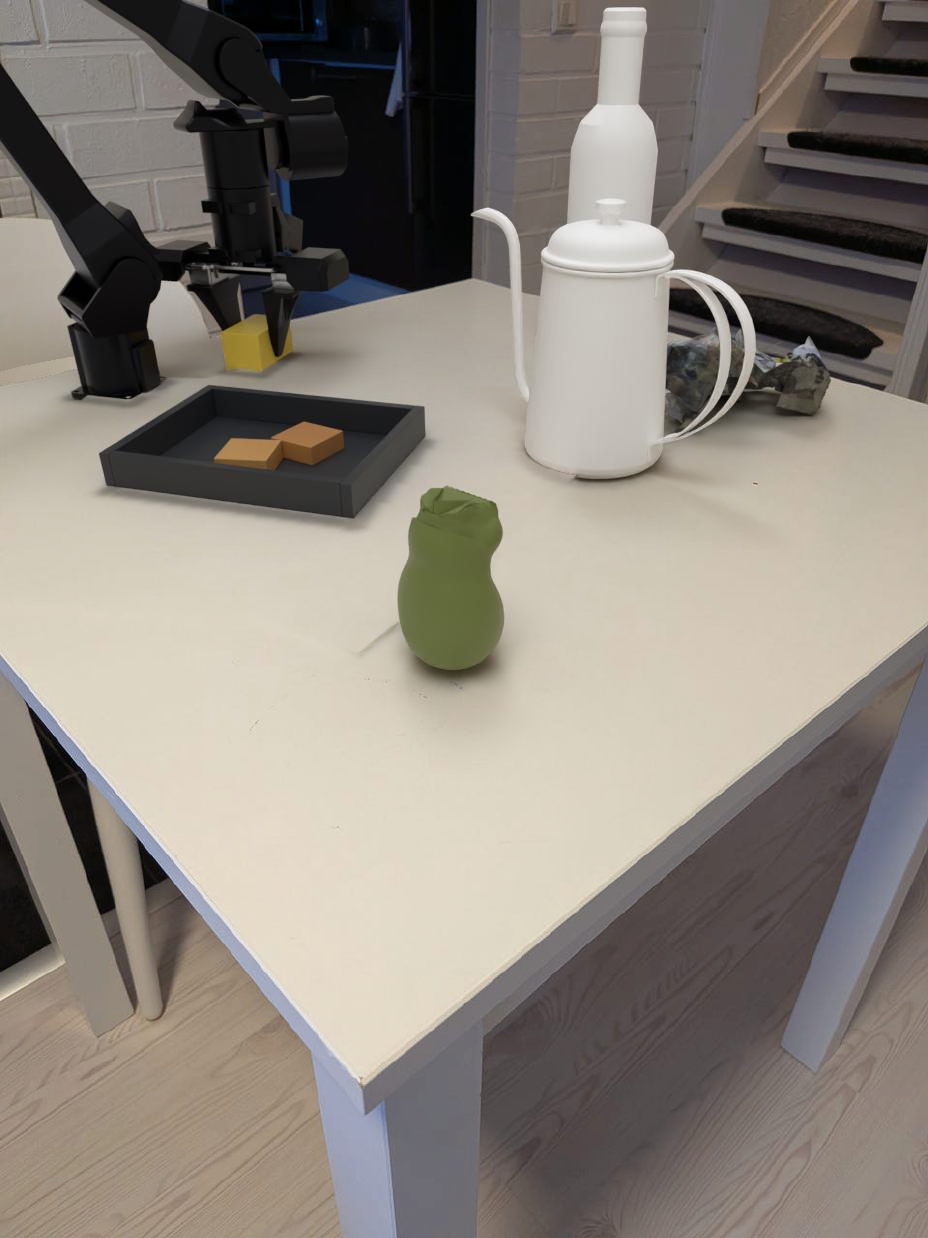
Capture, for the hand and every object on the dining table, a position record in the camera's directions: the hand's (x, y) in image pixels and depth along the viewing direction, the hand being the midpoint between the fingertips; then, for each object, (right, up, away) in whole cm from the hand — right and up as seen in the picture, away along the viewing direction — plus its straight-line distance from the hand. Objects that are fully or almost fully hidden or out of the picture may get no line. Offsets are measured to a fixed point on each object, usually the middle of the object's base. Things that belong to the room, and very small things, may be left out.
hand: (259, 354), depth 92 cm
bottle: (+34, -1, 0) cm, 34 cm away
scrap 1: (+4, -15, -23) cm, 28 cm away
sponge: (0, -1, +1) cm, 1 cm away
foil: (+45, -9, -11) cm, 47 cm away
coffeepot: (+30, -14, -19) cm, 39 cm away
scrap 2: (+8, -14, -20) cm, 26 cm away
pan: (+6, -15, -21) cm, 26 cm away
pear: (+20, -29, -43) cm, 56 cm away
